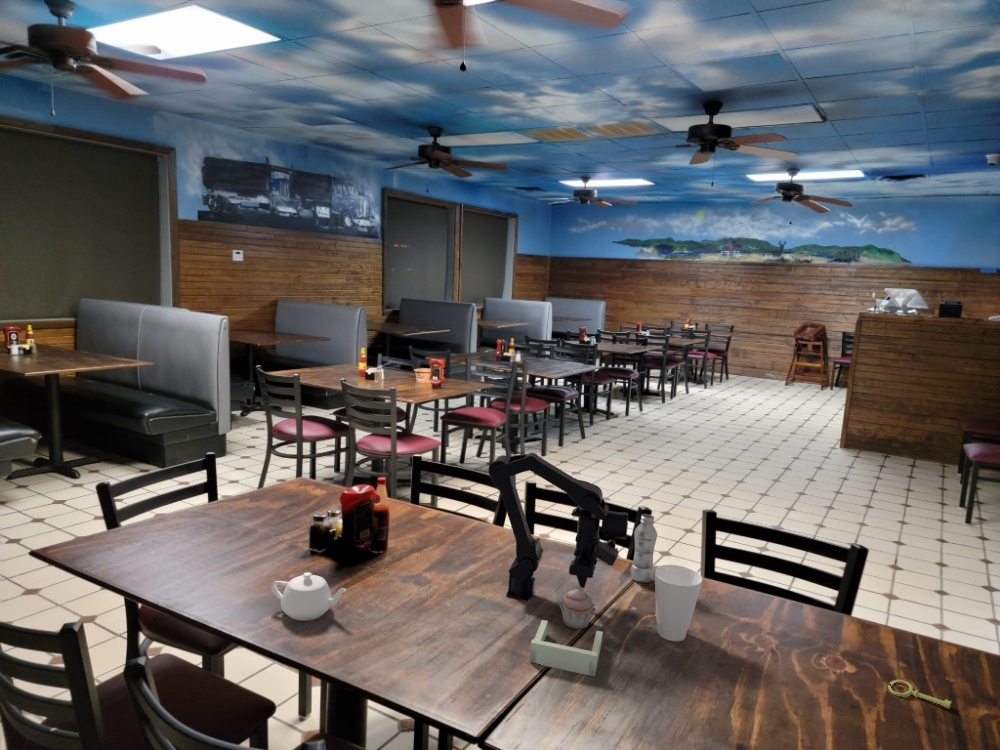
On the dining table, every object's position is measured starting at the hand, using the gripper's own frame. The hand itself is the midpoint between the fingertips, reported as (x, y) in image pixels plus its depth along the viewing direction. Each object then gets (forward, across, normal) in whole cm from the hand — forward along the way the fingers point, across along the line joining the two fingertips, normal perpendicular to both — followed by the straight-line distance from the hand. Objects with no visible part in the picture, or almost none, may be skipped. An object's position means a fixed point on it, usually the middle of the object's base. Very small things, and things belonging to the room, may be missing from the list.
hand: (582, 587), depth 181 cm
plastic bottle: (+5, +22, -15) cm, 27 cm away
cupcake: (+5, -10, 0) cm, 12 cm away
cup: (+5, -6, -24) cm, 25 cm away
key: (+6, -14, -78) cm, 79 cm away
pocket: (+5, -24, 0) cm, 25 cm away
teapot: (+5, -30, +65) cm, 72 cm away
